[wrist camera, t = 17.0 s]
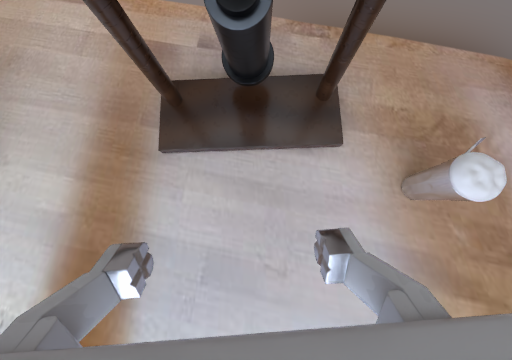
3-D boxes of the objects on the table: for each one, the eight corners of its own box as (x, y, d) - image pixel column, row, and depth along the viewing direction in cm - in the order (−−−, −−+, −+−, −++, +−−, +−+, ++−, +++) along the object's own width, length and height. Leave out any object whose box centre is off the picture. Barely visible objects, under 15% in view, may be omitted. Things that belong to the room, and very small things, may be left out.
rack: (340, 146, 28) (798, -260, 4) (162, 153, 29) (-355, -175, 5) (333, 78, 30) (632, -493, 6) (165, 86, 31) (-204, -412, 6)
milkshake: (421, 160, 28) (509, 130, 18) (438, 200, 27) (540, 191, 17) (388, 169, 28) (458, 144, 18) (403, 210, 27) (486, 206, 17)
